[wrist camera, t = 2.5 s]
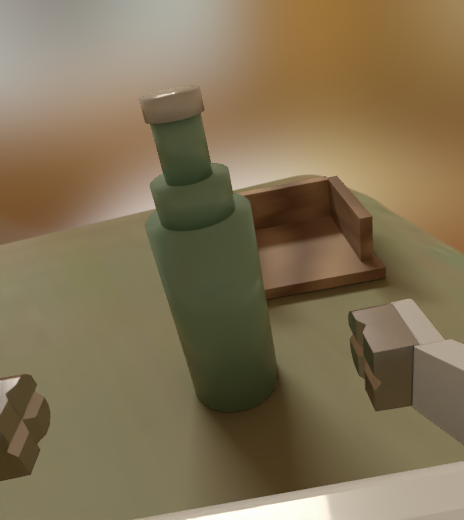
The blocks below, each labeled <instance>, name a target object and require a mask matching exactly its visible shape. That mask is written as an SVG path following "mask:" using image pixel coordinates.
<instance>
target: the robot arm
mask: <svg viewBox="0 0 464 520" xmlns="http://www.w3.org/2000/svg"><path fill="white" fill-rule="evenodd" d="M348 321H349V326H350V328H351V330H352V333H353V335H352V336H351V338H350V346H351V353H352V357H353V361H354V364H355V367H356V370H357V372H358V374H359V376H360V377H362V378H364V379H365V390H366V392H367V394H368V396H369V398H370V401H371V403H372V405H373V407H374V409H375V411H382V410H388V409H395V408H401V407H408V406H412V408H414V409H415V410H416V411H418V412H419V413H421V414H422V415H423V416H425V417H426V418H427V419H429V420H430V421H431V422H433V423H434V424H436V425H437V426H438V427H440V428H441V429H442V430H444V431H445V432H446V433H448V434H449V435H451V436H452V437H453V438H455V439H456V440H457V441H459V442H460V443H461V444H463V445H464V344H461V343H459V342H457V341H454V340H452V339H449V340H444V339H443V337H442V336H441V335H440V333H439V332H438V331H437V330H436V328H435V327H434V326H433V325H432V323H431V322H430V321H429V320H428V318H427V317H426V316H425V315H424V313H423V312H422V311H421V309H420V308H419V307H418V306H417V304H416V303H415V302H414V301H413V300H412V299H405V300H401V301H396V302H391V303H389V304H384V305H379V306H374V307H369V308H364V309H359V310H354V311H349V315H348ZM36 386H37V384H36V382H35V381H34V379H33V378H32V376H31V375H28V374H21V375H15V376H9V377H4V378H0V481H4V480H8V479H13V478H18V477H22V476H27V475H31V473H32V470H33V467H34V465H35V462H36V460H37V457H38V455H39V452H40V449H39V446H38V444H37V443H38V442H39V441H40V440H41V439H42V438H43V437H44V436H45V435H46V434H47V431H48V428H49V425H50V409H49V405H48V403H47V401H46V399H45V397H43V396H42V395H40V394H38V393H36V392H35V389H36ZM134 520H464V461H461V462H456V463H450V464H444V465H439V466H433V467H427V468H422V469H416V470H410V471H405V472H399V473H393V474H388V475H382V476H377V477H371V478H365V479H360V480H354V481H348V482H343V483H337V484H331V485H326V486H320V487H314V488H309V489H303V490H298V491H292V492H286V493H281V494H275V495H269V496H264V497H258V498H252V499H247V500H241V501H236V502H230V503H224V504H219V505H213V506H207V507H202V508H196V509H191V510H185V511H179V512H174V513H168V514H162V515H157V516H151V517H145V518H140V519H134Z"/></svg>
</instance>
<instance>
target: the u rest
mask: <svg viewBox="0 0 464 520" xmlns="http://www.w3.org/2000/svg"><path fill="white" fill-rule="evenodd" d="M238 194H239V195H242V196H244V197H246V198H247V199H248V200H249V201H250V204H251V210H252V216H253V222H254V228H255V234H256V240H257V246H258V252H259V258H260V265H261V271H262V277H263V283H264V289H265V295H266V300H267V299H272V298H277V297H283V296H288V295H294V294H299V293H305V292H310V291H316V290H321V289H327V288H332V287H338V286H343V285H349V284H354V283H360V282H365V281H371V280H376V279H382V278H385V266H384V265H383V264H382V262H381V261H380V259H379V258H378V257H377V255H376V254H375V253H374V251H373V237H372V215H371V214H370V213H369V212H368V211H367V210H366V209H365V207H364V206H363V205H362V204H361V203H360V202H359V201H358V199H357V198H356V197H355V196H354V195H353V194H352V193H351V191H350V190H349V189H348V188H347V187H346V186H345V185H344V183H343V182H342V181H341V180H340V179H339V178H338V177H337V176H334V177H329V178H327V177H326V176H324V177H319V178H314V179H309V180H303V181H298V182H293V183H288V184H282V185H277V186H272V187H267V188H262V189H256V190H251V191H246V192H241V193H238Z"/></svg>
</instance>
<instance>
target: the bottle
mask: <svg viewBox="0 0 464 520" xmlns="http://www.w3.org/2000/svg"><path fill="white" fill-rule="evenodd" d="M139 101H140V105H141V109H142V112H143V116H144V120H145V123H147V124H150V125H151V129H152V133H153V137H154V141H155V144H156V148H157V152H158V155H159V159H160V163H161V167H162V171H163V174H162V175H159V176H158V177H156V178H155V179H154V180H153V181H152V182H151V183H150V189H151V192H152V196H153V199H154V203H155V206H156V211H155V212H153V213H152V214H151V215H150V216H149V217H148V219H147V220H146V223H145V229H146V232H147V235H148V238H149V242H150V245H151V248H152V251H153V255H154V258H155V261H156V264H157V268H158V271H159V274H160V277H161V281H162V284H163V287H164V290H165V294H166V297H167V300H168V303H169V307H170V310H171V313H172V316H173V320H174V323H175V326H176V329H177V333H178V336H179V339H180V342H181V346H182V349H183V352H184V355H185V359H186V362H187V365H188V368H189V372H190V375H191V378H192V381H193V385H194V388H195V391H196V394H197V396H198V398H199V399H200V400H201V401H202V402H203V403H204V404H205V405H206V406H208V407H210V408H212V409H214V410H217V411H222V412H238V411H243V410H247V409H250V408H252V407H254V406H257V405H258V404H260V403H262V402H263V401H264V400H265V399H267V398H268V397H269V396H270V394H271V393H272V392H273V390H274V389H275V387H276V384H277V381H278V368H277V362H276V356H275V350H274V344H273V338H272V332H271V326H270V319H269V313H268V307H267V301H266V295H265V289H264V283H263V277H262V271H261V265H260V258H259V252H258V246H257V240H256V234H255V228H254V222H253V216H252V210H251V204H250V201H249V200H248V199H247V198H246V197H244V196H242V195H239V194H236V193H233V191H232V186H231V180H230V175H229V170H228V167H227V166H224V165H223V164H218V163H211V161H210V156H209V151H208V146H207V142H206V137H205V132H204V127H203V122H202V117H201V112H203V111H204V105H203V100H202V95H201V90H200V86H184V87H177V88H172V89H167V90H162V91H159V92H155V93H152V94H148V95H146V96H143V97H141V98H140V99H139Z"/></svg>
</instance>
